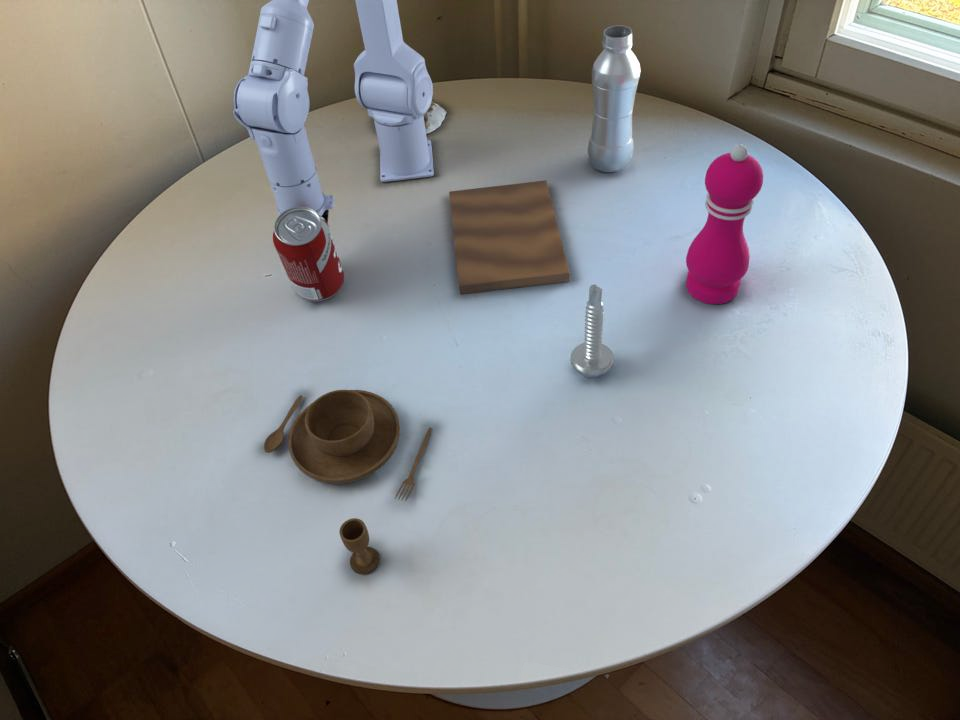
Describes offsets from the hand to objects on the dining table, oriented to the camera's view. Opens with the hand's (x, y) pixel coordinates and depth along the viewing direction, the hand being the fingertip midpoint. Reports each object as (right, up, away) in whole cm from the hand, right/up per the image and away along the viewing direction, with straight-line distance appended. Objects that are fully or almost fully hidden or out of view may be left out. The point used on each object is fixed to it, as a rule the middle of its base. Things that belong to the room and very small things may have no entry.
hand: (318, 260), depth 101 cm
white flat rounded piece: (+10, +26, +25) cm, 37 cm away
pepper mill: (+50, -4, -7) cm, 51 cm away
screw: (+34, -14, -14) cm, 40 cm away
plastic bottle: (+40, +15, +12) cm, 45 cm away
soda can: (0, -3, -2) cm, 4 cm away
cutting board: (+25, +3, +3) cm, 25 cm away
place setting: (+6, -25, -21) cm, 33 cm away
